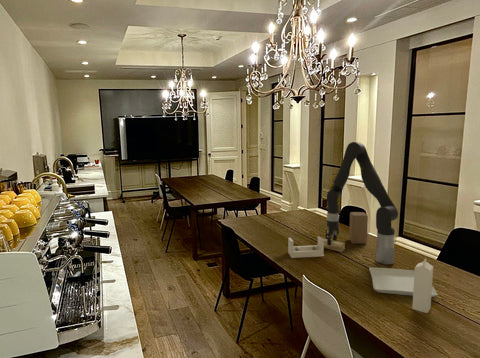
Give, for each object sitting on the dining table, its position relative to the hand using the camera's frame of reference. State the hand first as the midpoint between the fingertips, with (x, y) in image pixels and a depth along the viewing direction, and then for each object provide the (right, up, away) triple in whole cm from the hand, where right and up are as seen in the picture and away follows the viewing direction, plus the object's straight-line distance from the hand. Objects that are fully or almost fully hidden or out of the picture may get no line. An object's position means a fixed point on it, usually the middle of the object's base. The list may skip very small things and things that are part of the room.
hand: (331, 243), depth 224 cm
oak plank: (0, -3, 0) cm, 3 cm away
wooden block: (+21, -1, +12) cm, 24 cm away
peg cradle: (-19, -5, -10) cm, 22 cm away
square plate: (+19, -11, -54) cm, 58 cm away
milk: (+18, -14, -76) cm, 79 cm away
